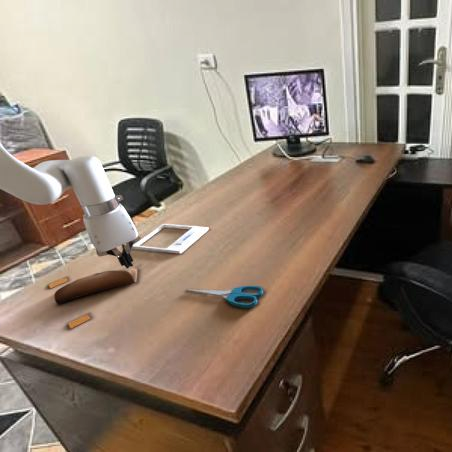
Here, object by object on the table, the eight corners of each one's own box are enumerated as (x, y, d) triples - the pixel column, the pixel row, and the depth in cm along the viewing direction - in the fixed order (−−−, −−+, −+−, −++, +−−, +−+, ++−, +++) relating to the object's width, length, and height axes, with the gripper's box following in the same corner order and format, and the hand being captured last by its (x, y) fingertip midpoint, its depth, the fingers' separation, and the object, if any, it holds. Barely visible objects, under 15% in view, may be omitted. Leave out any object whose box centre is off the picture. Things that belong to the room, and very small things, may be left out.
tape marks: (70, 328, 80) (70, 328, 80) (48, 285, 96) (48, 284, 96) (90, 319, 82) (89, 318, 82) (65, 278, 98) (65, 277, 98)
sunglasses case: (137, 266, 99) (129, 255, 94) (141, 288, 96) (132, 278, 91) (64, 286, 94) (51, 276, 88) (65, 310, 91) (51, 301, 85)
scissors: (252, 305, 80) (178, 297, 85) (253, 308, 80) (179, 300, 86) (264, 286, 86) (194, 280, 91) (265, 289, 86) (195, 283, 91)
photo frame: (179, 250, 104) (131, 245, 109) (180, 253, 104) (132, 248, 110) (207, 226, 116) (163, 223, 121) (208, 229, 117) (164, 226, 122)
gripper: (127, 192, 95) (150, 249, 104) (63, 213, 86) (94, 273, 95) (136, 199, 90) (160, 257, 99) (70, 222, 81) (103, 284, 90)
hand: (128, 265), depth 97 cm, fingers closed
